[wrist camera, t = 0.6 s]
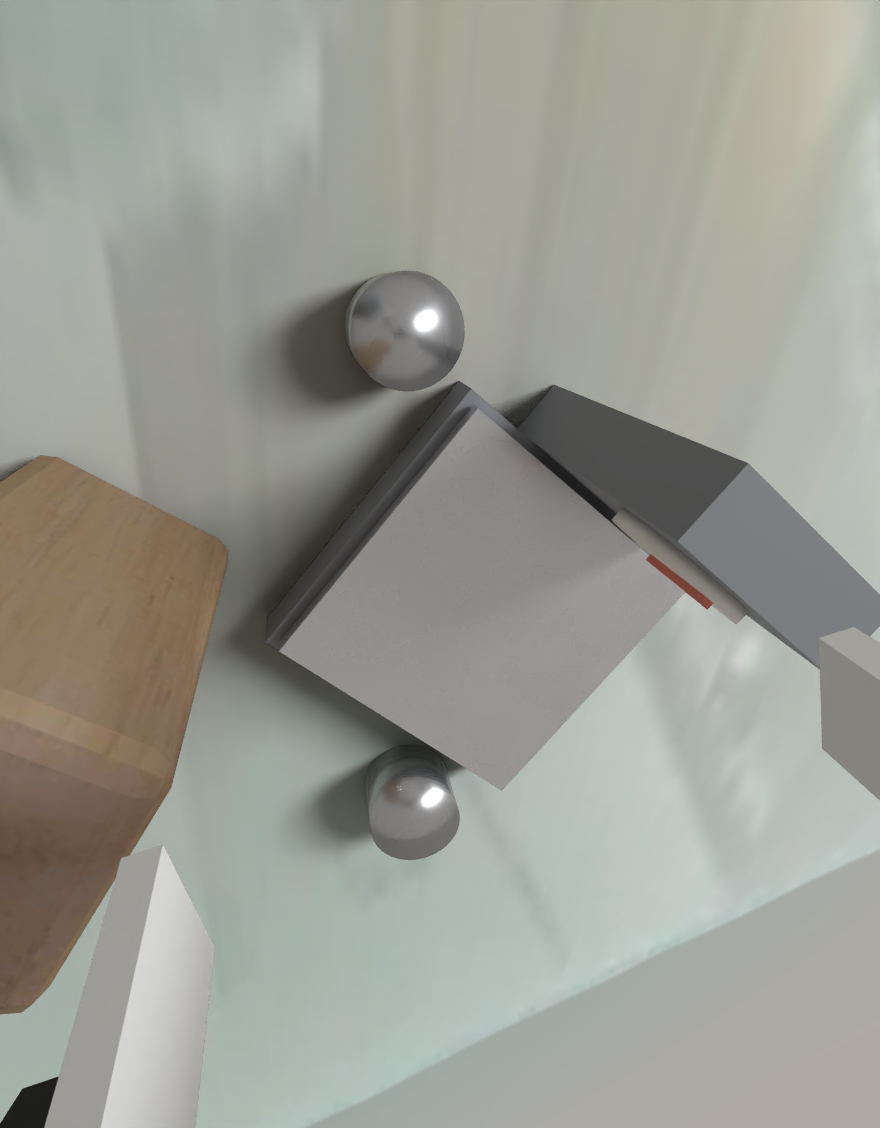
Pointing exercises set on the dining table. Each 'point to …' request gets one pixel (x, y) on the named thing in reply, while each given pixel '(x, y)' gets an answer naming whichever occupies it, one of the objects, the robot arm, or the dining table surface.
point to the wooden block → (87, 696)
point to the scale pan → (482, 605)
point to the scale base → (646, 518)
